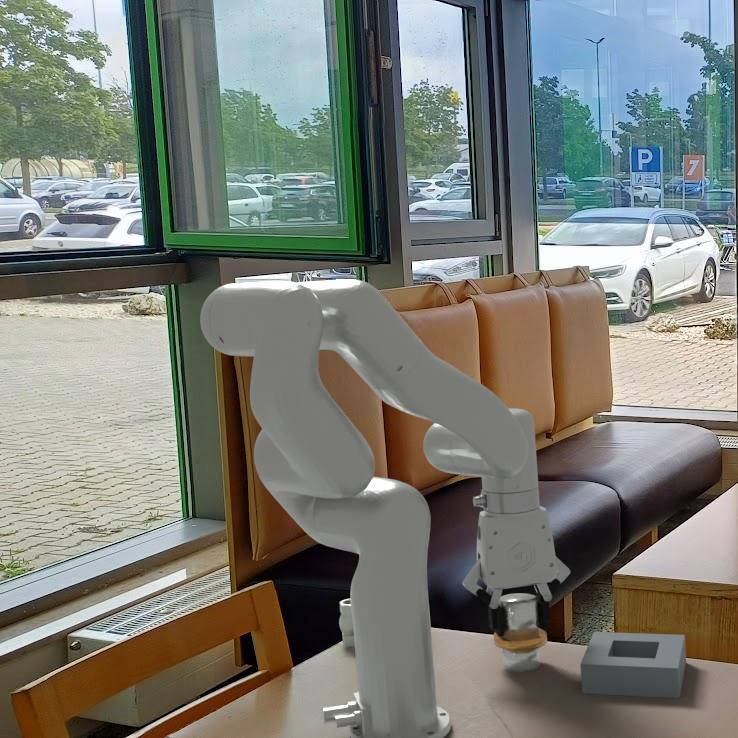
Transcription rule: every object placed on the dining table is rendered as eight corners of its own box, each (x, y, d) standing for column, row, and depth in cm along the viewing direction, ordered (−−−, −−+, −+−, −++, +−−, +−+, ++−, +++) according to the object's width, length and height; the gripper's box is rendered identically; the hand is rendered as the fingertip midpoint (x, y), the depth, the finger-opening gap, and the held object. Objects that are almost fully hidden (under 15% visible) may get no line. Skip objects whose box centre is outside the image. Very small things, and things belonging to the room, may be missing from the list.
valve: (334, 650, 172) (410, 653, 168) (330, 608, 172) (407, 610, 168) (349, 635, 178) (422, 638, 175) (345, 594, 178) (419, 596, 174)
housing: (680, 707, 142) (677, 668, 141) (582, 702, 146) (580, 664, 145) (686, 671, 153) (684, 634, 152) (596, 667, 157) (593, 631, 156)
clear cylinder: (505, 681, 152) (501, 609, 152) (488, 663, 159) (485, 594, 159) (556, 674, 154) (552, 602, 153) (537, 657, 161) (534, 588, 160)
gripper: (457, 514, 149) (467, 648, 151) (581, 498, 152) (589, 630, 154) (442, 502, 157) (452, 631, 158) (561, 488, 160) (569, 614, 161)
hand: (520, 629), depth 156 cm, fingers open, 5 cm apart
